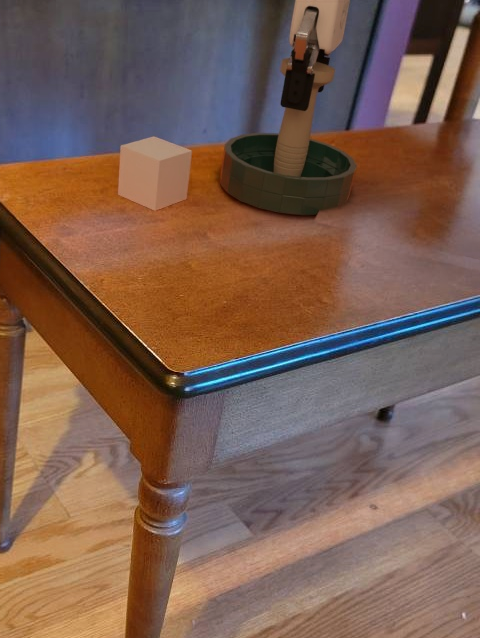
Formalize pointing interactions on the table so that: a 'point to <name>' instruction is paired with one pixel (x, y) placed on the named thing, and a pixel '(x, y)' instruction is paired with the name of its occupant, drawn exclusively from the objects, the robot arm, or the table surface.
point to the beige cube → (154, 172)
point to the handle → (298, 126)
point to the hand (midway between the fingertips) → (302, 98)
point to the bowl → (286, 176)
